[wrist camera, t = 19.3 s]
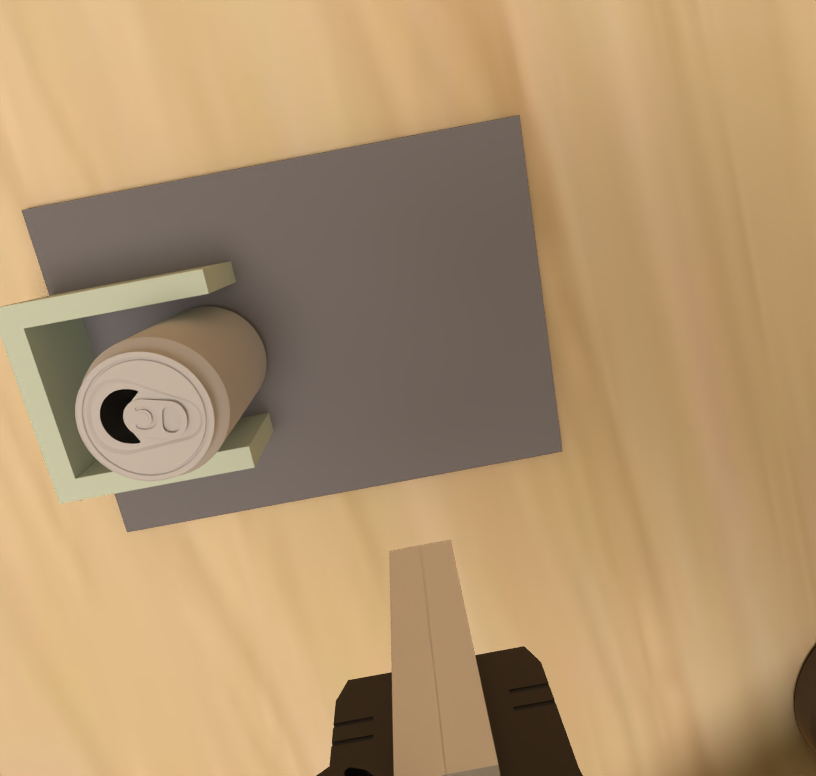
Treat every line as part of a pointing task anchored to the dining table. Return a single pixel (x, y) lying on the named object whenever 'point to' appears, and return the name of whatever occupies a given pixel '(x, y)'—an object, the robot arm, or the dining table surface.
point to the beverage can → (170, 393)
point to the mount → (308, 318)
